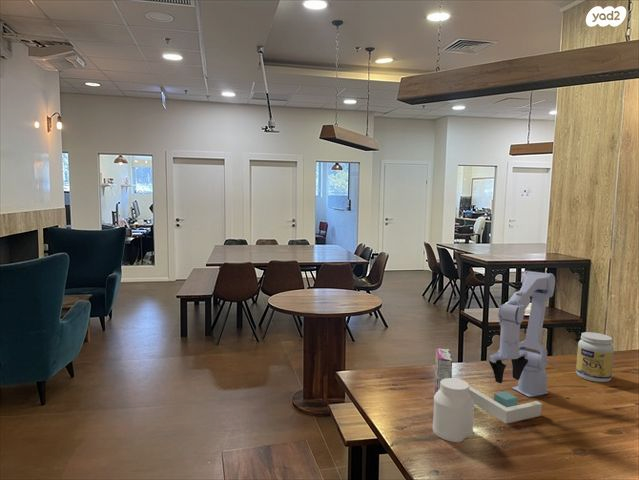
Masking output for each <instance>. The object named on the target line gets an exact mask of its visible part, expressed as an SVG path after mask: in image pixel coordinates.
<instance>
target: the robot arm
mask: <svg viewBox="0 0 639 480" xmlns="http://www.w3.org/2000/svg"><path fill="white" fill-rule="evenodd" d="M521 284H522V285H521V288H520V289H519V291H518V290H517V291H515V292H514V293H513V294H512V295H511V296H510V298H509V299H508V301H507V302H506V303H503V304H501V305H500V306H499V309H498V320H499V321H498V322H499V326H500V336H499V337H500V338H499V339H500V340H499V349H498V350H497V352H496V353H493V354H489V359H488V363H489V364H490V366H491V369H492V370H493V375H494V379H495V382H496V383H498V384H503V380H504V379H503V378H504V372H505V370H506V368H507V364H505V363H503V361H509V360H511V368H512V378H513V379H515V380H517V385H516V386H512V389H513V390H514V391H517V392H518V393H520V394H523V395H524V396H526V397H528V398H533V397H537V396H543V395H546V394H547V395H548V394H549V392H548V391H547V386H548V385H547V384H548V373H547V370H546V368H547V363H548V350H547V348H546V347H545V346H544V345H543V344H542V343H541V340H542V339H541V338H542V332H543V325H544V321H545V316H546V315H545V313H546V307H547V302H548V299H549V298H552V297H553V296H554V292H555V286H556V277H555V275H554V274H553V273H551V272H550V273H548V272H539V271H531V270H525V271H524V272H523V274H522V275H521ZM530 303H531V304H530ZM529 305H530V309H529V310H530V312H529V317H528V325H527V329H526V334H525V339H523V340H522V341H520V333H521V332H520V330H521V324H522V322H523V320H524V317H525V313H526V311H525V310H526V309H527V308H528V307H529Z"/></svg>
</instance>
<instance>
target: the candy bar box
mask: <svg viewBox="0 0 639 480" xmlns="http://www.w3.org/2000/svg"><path fill="white" fill-rule="evenodd" d="M452 358H453V357H452V354H451V351H450V349H449V348H440V347H439V348H438V347H437V348H435V363H434V364H435V368H434V369H435V371H434V376H435V377H434V395H435V394H436V392H437V391H438V390H439V389H440V381H441V380H442V379H446V378H453V377H452V374H453V371H452V370H453V359H452Z"/></svg>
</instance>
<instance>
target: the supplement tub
mask: <svg viewBox="0 0 639 480" xmlns="http://www.w3.org/2000/svg"><path fill="white" fill-rule="evenodd" d="M612 343H613V338H612V337H611V336H610V335H606V334H604V333H598V332H594V331H593V332H590V331H585V332H581V335H580V340H579V341H578V342H577V352H576V353H577V354H576V363H575V364H576V365H575V366H576V367H575V373H576V374H577V376H579V377H580V378H581V379H585V380H587V381H590V382H595V383H608V382H609V381H611V380H612V377H613V367H614V366H613V365H614V356H615V355H614V353H615V348H614V345H613V344H612Z"/></svg>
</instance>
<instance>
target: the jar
mask: <svg viewBox="0 0 639 480" xmlns="http://www.w3.org/2000/svg"><path fill="white" fill-rule="evenodd" d="M469 386H470V384H469V383H468V382H467V381H465V380H462V379H459V378H454V377H452V378H446V379H442V380H441V381H440V389H439V390H438V391H437V392H436V394H435V393H434V396H433V420H432V431H433V433H434V435H435V436H438V437H439V438H440V439H442V440H445V441H446V442H447V441H448V442H450V443H451V442H452V443H461V442H463V440H464V439H467V438H470V437H472V436H473V435H474V430H473V429H474V428H473V426H474V411H475V404H474V400H473V399H472V397H471V395H470V394H469Z"/></svg>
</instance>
